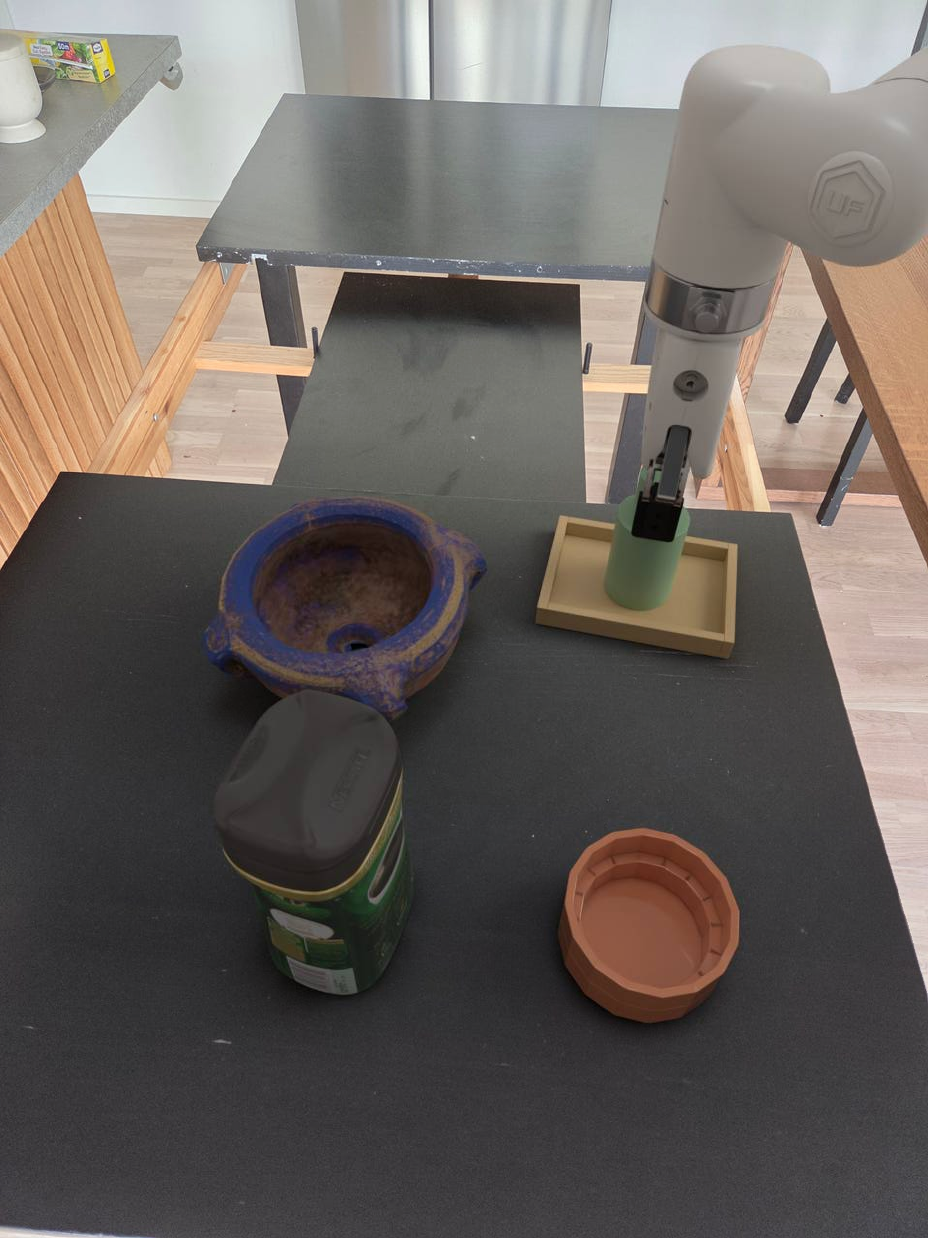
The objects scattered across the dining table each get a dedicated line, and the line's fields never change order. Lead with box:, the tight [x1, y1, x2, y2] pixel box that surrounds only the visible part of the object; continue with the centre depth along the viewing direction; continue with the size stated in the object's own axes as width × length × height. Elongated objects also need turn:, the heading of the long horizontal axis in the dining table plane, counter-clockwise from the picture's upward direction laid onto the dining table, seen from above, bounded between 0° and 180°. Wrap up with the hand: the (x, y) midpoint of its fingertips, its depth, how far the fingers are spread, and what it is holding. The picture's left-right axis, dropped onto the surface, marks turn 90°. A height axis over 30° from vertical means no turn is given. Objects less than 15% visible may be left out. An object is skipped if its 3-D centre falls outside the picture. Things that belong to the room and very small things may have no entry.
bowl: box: [201, 496, 488, 723], centre depth 63 cm, size 18×18×10 cm
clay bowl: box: [557, 827, 740, 1024], centre depth 50 cm, size 10×10×5 cm
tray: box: [534, 515, 739, 660], centre depth 71 cm, size 16×12×2 cm
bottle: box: [604, 467, 691, 610], centre depth 67 cm, size 6×6×12 cm
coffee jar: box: [212, 689, 416, 996], centre depth 46 cm, size 10×8×19 cm
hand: (655, 512), depth 65 cm, fingers open, 4 cm apart
